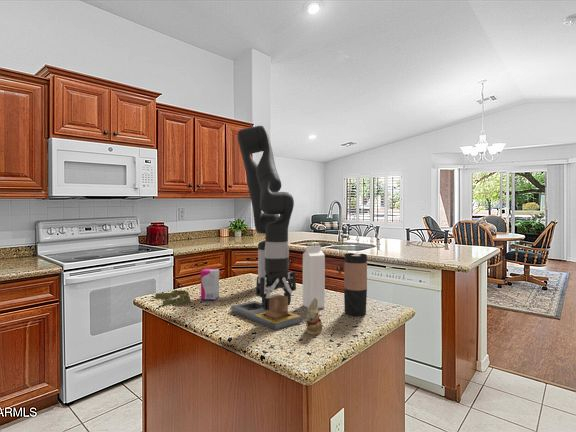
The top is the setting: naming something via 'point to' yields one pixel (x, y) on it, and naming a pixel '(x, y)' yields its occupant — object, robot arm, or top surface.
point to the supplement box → (210, 284)
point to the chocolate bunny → (313, 319)
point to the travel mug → (355, 284)
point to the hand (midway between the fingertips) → (276, 307)
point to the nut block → (277, 307)
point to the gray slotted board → (260, 316)
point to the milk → (313, 276)
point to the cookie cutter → (181, 300)
